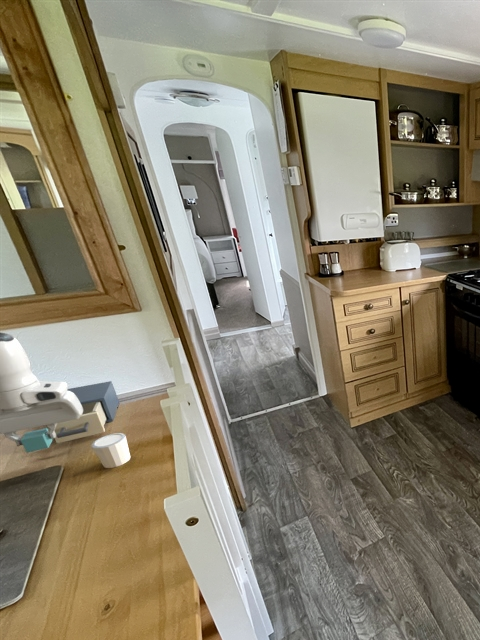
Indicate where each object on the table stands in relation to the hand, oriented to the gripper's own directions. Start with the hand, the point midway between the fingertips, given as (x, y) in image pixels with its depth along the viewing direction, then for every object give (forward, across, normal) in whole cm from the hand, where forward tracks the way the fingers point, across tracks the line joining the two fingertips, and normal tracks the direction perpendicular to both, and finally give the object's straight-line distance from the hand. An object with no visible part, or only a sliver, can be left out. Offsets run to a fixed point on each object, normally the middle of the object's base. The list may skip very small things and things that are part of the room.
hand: (37, 441), depth 99 cm
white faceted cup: (+7, +16, -9) cm, 19 cm away
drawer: (+6, +5, +12) cm, 15 cm away
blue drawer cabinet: (+7, +6, +24) cm, 25 cm away
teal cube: (+2, 0, 0) cm, 2 cm away
